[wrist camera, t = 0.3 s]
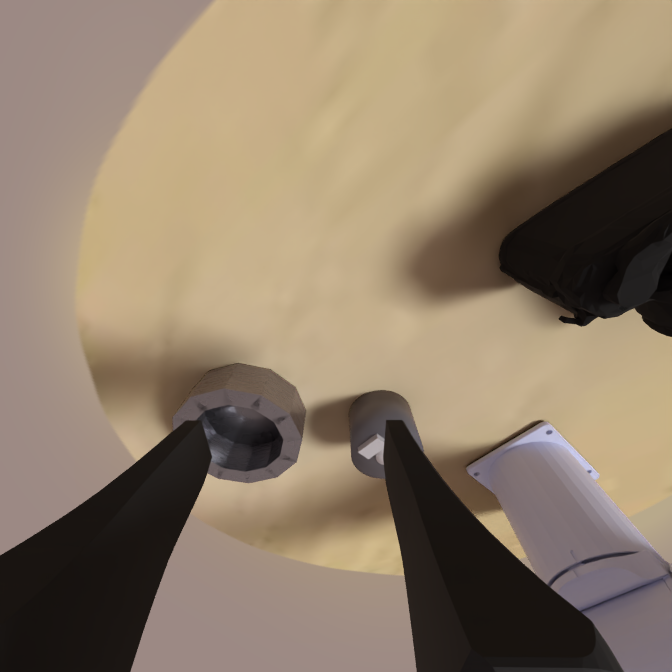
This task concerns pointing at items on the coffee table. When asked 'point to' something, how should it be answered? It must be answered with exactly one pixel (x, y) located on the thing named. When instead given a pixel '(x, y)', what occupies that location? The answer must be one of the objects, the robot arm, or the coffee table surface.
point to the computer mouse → (376, 428)
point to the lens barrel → (246, 421)
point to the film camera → (604, 243)
